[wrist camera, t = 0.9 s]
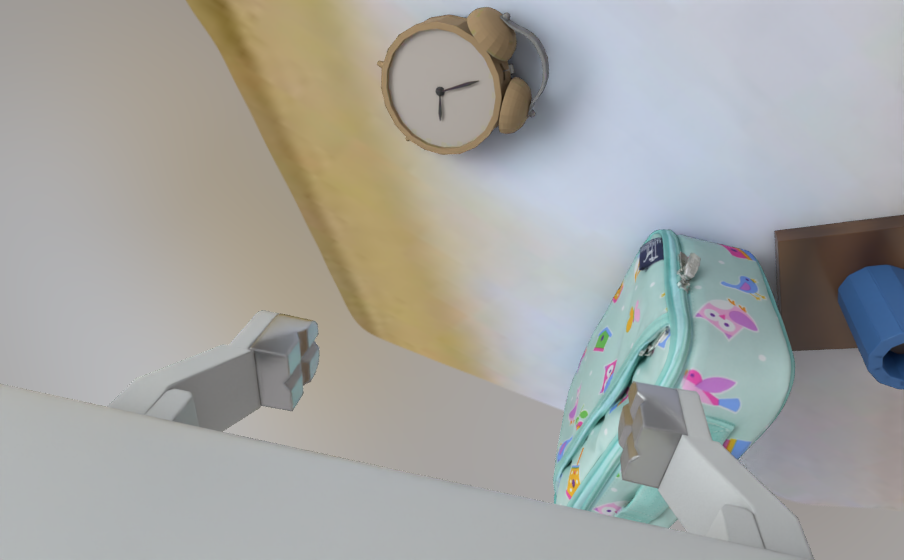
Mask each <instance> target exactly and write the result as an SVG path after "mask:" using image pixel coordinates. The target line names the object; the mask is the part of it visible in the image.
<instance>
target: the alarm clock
mask: <svg viewBox="0 0 904 560" xmlns="http://www.w3.org/2000/svg"><path fill="white" fill-rule="evenodd" d="M509 19H510V14H509V13H508V12H507V13H504V14H501V13H500V12H499V11H497V10H495V9H492V8H489V7H483V8H478V9H476V10H474V11H473V12H472V13H471V14H470V15H469V16H468V17H467V18H463V17H458V16H454V15H444V16H438V17H432V18H429V19H427V20H426V21H424V22H422V23H419V24H416V25H414V26H413V27H411V28H409V29H408V30H406V31H404V32H403V33H401V34H400V35H399V36H398V37H397V38H396V40H395V41H394V42H393V44H392V45H391V46H390V47H389V49H388V51H387V54H386V57H385V60H384V62H383V61H378V63H377V65H378V66H379V67H381V68H382V78H381V89H382V93H383V97H384V101H385V105H386V108H387V110H388V112H389V114H390V116H391V118H392V120H393V121H394V123H395V125H396V126H397V127H398V128H399V130H400V131H401V132H402V133H403V134H404V135H405V136H406V141H409V140H410V141H412V142H413V143H415V144H417V145H418V146H420V147H421V148H423V149H424V150H428V151H431V152H435V153H438V154H442V155H445V154H461V153H463V152H466V151H468V150H470V149H473V148H475V147H477V146H478V145H479V144H480V143H481V142H482V141H483V140H484V139H486V138H487V137H488V136H489V135H490V134H491V132H492V131H493V130H494V129H495V128H496V127H497V126H498V125H499V131H500V132H501V133H505V134H510V133H514V132H516V131H517V130H519V129H520V128H521V127H522V126H523V124H524V123H525V121H526V120H527V118H528V117H529V116H530V117H534V116H535V114H536V113H535V111H534V110H532V108H533V105H534V103H535V101H536V99H537V98H538V97H539V96H540V94H541V93H542V92H543V90H544V88H545V86H546V84H547V80H548V76H549V64H548V57H547V55H546V52H545V49H544V47H543V45H542V44H541V42H540V40H539V39H538V38H537V37H536V36H535V35H534V34H533V33H532V32H530V31H529V30H527V29H525V28H523V27H520V26H519V25H517V24H515V23H514V22H512V21H511V20H509ZM514 30H515V31H516V32H519V33H521V34H523V35H524V36H526V37H527V38H528V39H529V40H530V41H531V42H532V43H533V44H534V46H535V48H536V49H537V51H538V53H539V56H540V58H541V61H542V68H543V81H542V84H541V88H540V90H539V92H538V94H537V95H536V97H535V98H534V99H533V101H532V98H531V90H530V88H529V86H528V85H527V83H526V82H525V81H524V80H522V79H520V78H518V77H514V78H513V79H512V80H511V74H513V73H514V68H513V64H510V65H509V64H508V60H509V59H510V58H511V57H512V55H513V53H514V51H515V49H516V44H517V41H516V34H515V31H514ZM531 101H532V102H531Z"/></svg>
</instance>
